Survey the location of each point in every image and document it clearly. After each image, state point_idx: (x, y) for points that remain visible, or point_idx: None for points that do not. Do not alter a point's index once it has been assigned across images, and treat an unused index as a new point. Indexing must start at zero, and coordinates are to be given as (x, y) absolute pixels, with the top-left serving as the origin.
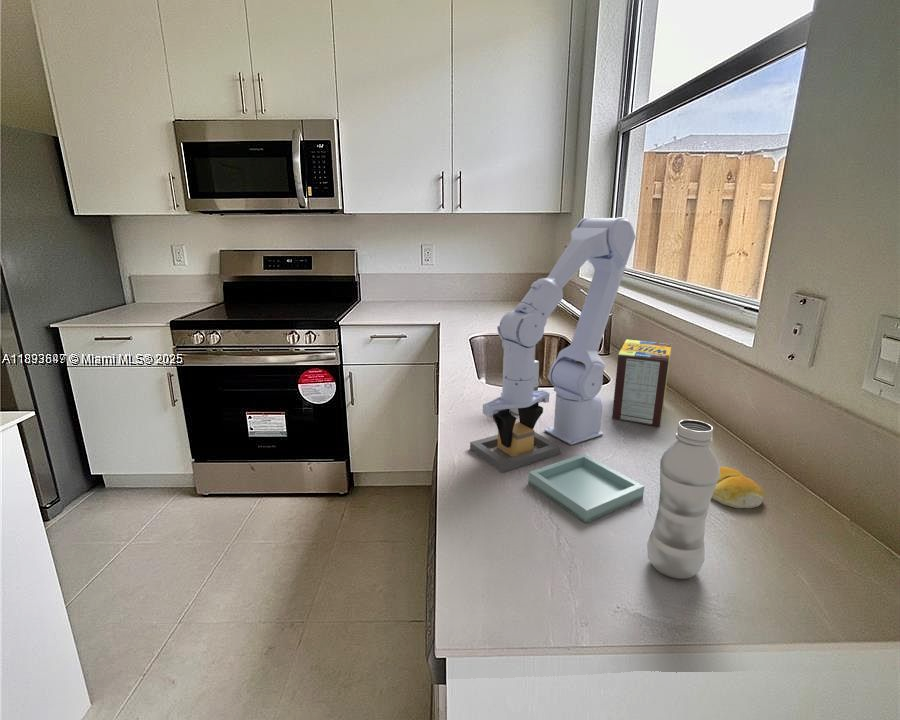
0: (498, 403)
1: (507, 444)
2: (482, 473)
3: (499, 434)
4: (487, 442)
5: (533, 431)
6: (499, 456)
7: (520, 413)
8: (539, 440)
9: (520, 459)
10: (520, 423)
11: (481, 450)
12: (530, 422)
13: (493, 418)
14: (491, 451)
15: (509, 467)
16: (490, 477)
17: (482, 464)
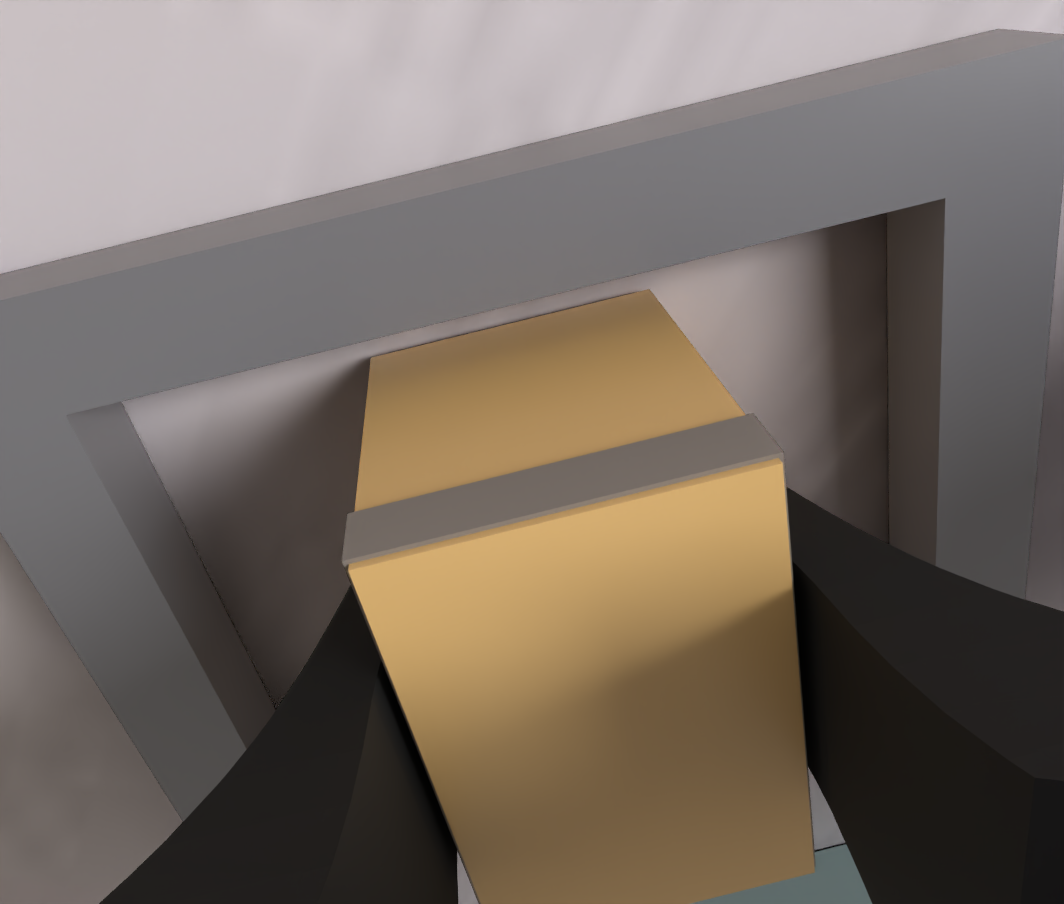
0: None
1: None
2: (30, 801)
3: (322, 637)
4: (196, 377)
5: (790, 872)
6: None
7: (904, 730)
8: (930, 493)
9: None
10: (781, 638)
11: (41, 590)
12: (866, 877)
13: (119, 895)
14: (175, 652)
15: None
16: (100, 859)
17: (62, 666)
